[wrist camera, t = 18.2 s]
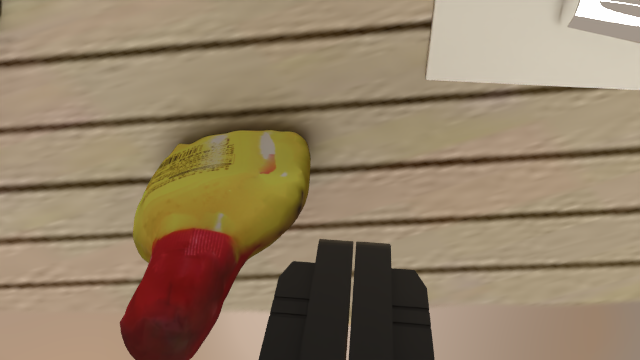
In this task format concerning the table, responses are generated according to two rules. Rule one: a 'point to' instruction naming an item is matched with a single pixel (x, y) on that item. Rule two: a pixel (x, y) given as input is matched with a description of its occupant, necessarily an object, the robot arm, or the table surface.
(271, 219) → the bottle
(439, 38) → the mat
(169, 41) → the table surface
